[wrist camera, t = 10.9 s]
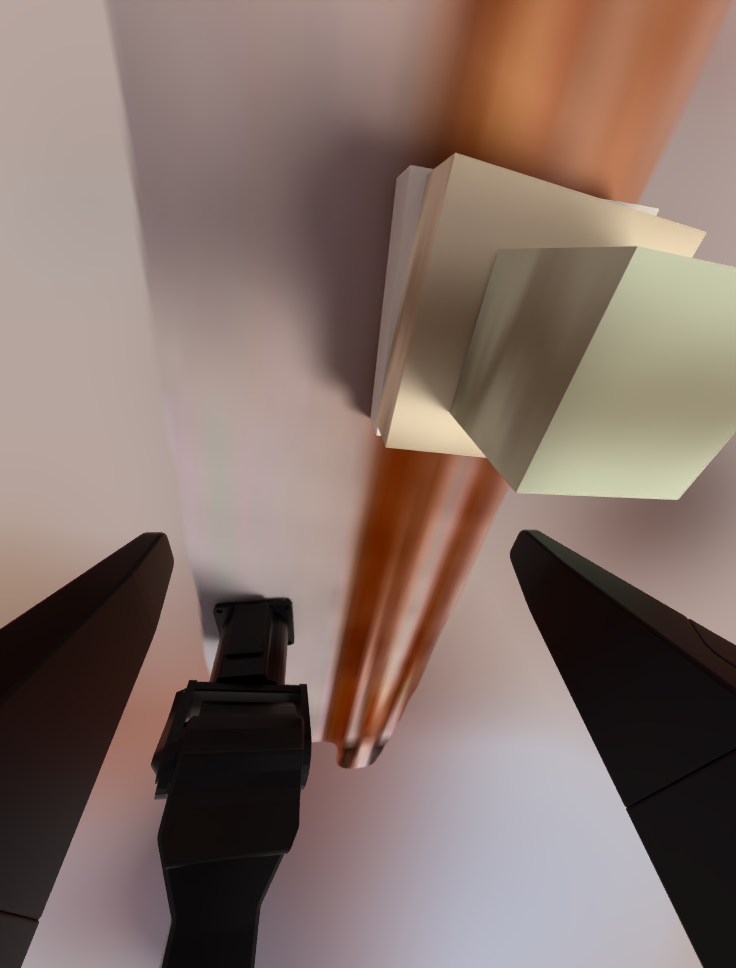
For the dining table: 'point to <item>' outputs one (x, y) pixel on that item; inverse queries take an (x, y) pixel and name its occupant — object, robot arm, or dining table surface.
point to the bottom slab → (398, 259)
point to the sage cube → (601, 370)
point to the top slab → (483, 280)
